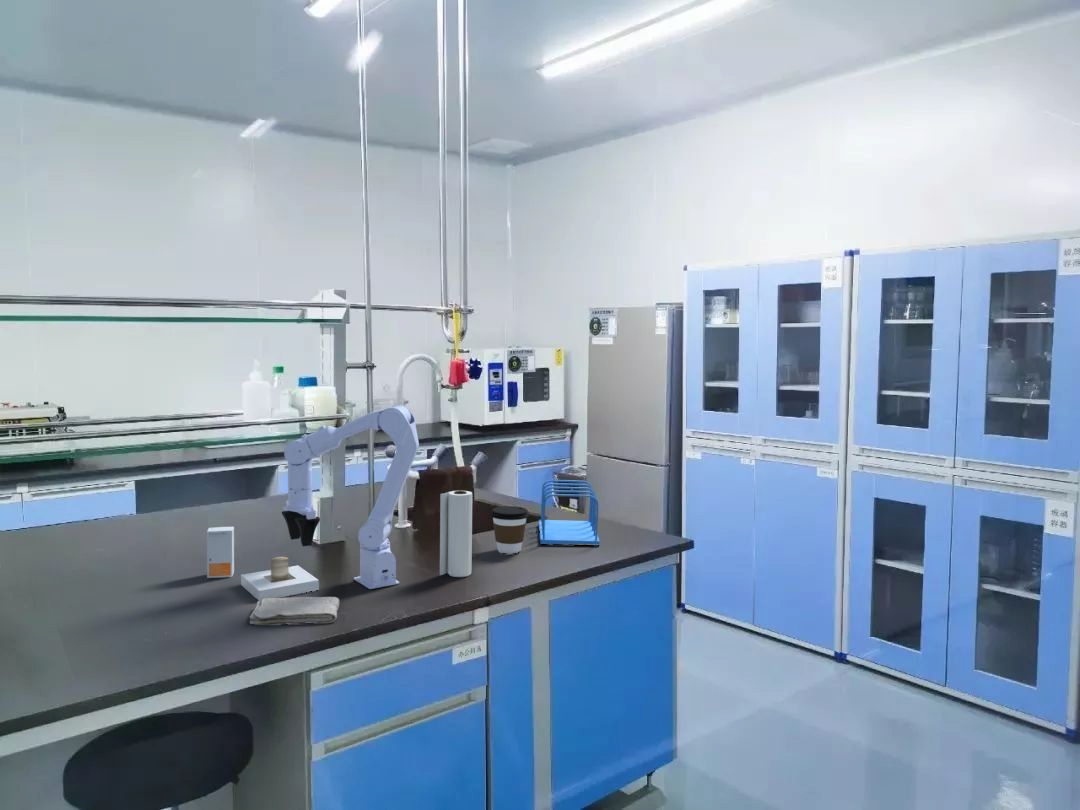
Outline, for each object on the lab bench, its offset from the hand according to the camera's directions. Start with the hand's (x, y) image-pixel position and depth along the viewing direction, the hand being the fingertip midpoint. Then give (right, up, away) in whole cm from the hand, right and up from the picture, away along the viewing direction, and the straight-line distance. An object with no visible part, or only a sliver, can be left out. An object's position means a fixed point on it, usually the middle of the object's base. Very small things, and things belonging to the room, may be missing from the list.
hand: (300, 542), depth 196 cm
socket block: (-3, -10, -6) cm, 12 cm away
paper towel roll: (+38, -10, +7) cm, 40 cm away
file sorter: (+68, -7, +48) cm, 83 cm away
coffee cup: (+50, -8, +29) cm, 59 cm away
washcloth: (+6, -12, -23) cm, 27 cm away
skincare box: (-21, -9, +2) cm, 23 cm away
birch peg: (-3, -10, -6) cm, 12 cm away
